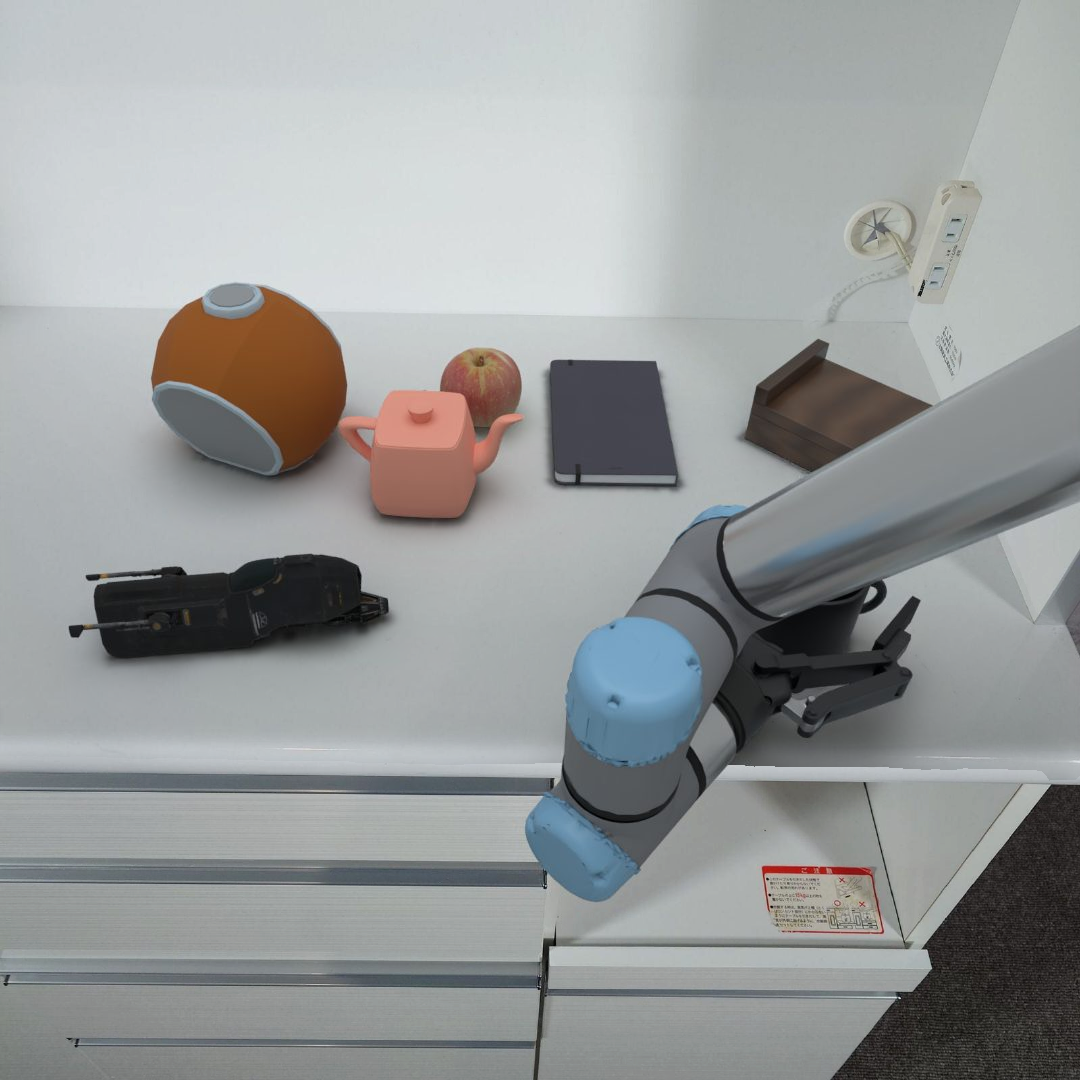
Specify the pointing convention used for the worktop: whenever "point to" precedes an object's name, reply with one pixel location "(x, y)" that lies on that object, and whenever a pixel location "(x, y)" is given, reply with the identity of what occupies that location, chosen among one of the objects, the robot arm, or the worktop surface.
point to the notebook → (610, 424)
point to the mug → (823, 624)
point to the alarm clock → (250, 378)
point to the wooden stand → (823, 409)
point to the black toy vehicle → (226, 604)
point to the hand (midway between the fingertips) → (838, 568)
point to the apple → (484, 383)
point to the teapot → (424, 452)
